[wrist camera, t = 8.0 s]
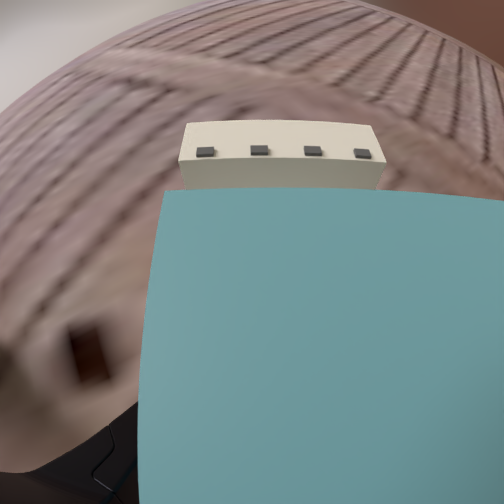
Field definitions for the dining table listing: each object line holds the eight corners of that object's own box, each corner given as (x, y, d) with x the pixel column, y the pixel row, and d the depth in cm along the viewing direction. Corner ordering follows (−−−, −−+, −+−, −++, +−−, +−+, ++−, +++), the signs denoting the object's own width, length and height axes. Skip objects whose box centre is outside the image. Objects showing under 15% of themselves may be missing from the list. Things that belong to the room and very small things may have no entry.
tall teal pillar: (339, 439, 12) (575, 468, 1) (237, 445, 12) (151, 595, 1) (335, 364, 14) (530, 204, 3) (236, 368, 14) (165, 190, 3)
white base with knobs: (407, 423, 13) (487, 419, 7) (155, 437, 13) (90, 449, 7) (369, 203, 21) (402, 126, 15) (175, 204, 21) (150, 123, 15)
